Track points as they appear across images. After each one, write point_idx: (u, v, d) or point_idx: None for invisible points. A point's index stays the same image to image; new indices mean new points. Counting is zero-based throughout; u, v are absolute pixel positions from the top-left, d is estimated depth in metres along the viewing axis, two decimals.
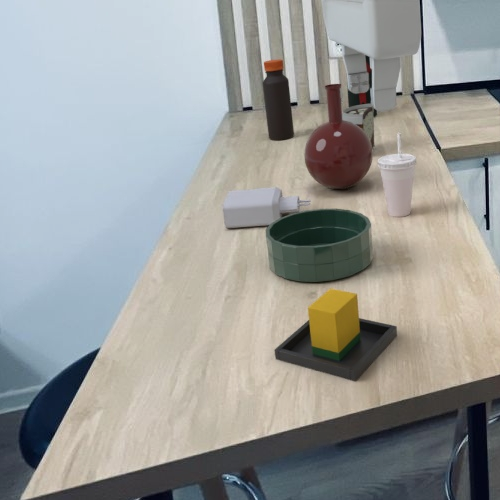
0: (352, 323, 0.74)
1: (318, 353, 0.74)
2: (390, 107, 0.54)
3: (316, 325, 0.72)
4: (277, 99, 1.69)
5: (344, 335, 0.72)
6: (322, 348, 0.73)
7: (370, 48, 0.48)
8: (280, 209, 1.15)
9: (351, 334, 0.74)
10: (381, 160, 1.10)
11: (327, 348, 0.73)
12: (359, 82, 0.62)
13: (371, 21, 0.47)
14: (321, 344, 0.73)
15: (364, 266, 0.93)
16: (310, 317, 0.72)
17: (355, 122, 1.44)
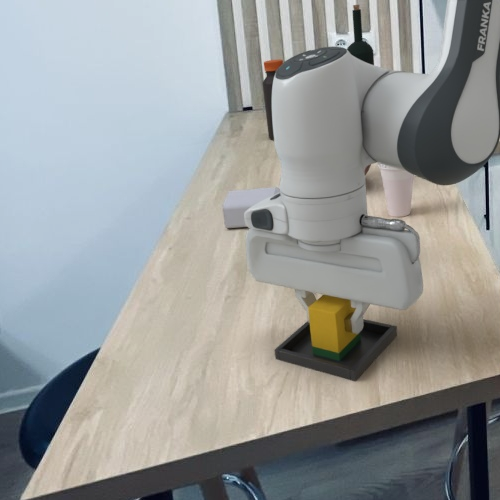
0: None
1: (318, 353, 0.74)
2: (361, 328, 0.72)
3: (316, 325, 0.72)
4: None
5: (344, 335, 0.72)
6: (322, 348, 0.73)
7: (399, 304, 0.66)
8: None
9: (351, 334, 0.74)
10: None
11: (327, 348, 0.73)
12: None
13: (404, 287, 0.65)
14: (321, 344, 0.73)
15: None
16: (310, 317, 0.72)
17: None
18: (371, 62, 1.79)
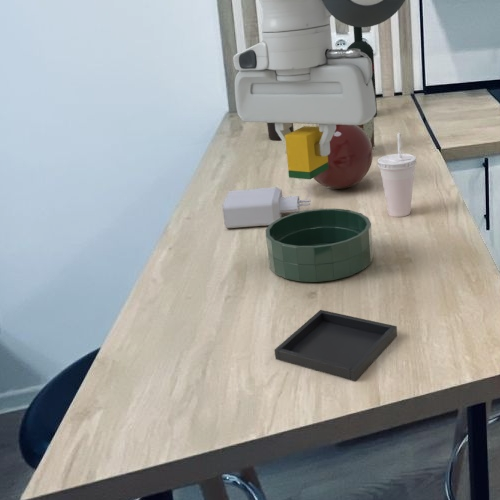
0: None
1: (293, 176, 0.90)
2: (328, 153, 0.89)
3: (291, 150, 0.89)
4: None
5: (314, 158, 0.89)
6: (296, 171, 0.90)
7: (356, 119, 0.82)
8: (280, 209, 1.15)
9: (320, 160, 0.90)
10: (381, 160, 1.10)
11: (300, 169, 0.89)
12: None
13: (360, 103, 0.81)
14: (296, 167, 0.90)
15: (364, 266, 0.93)
16: (287, 143, 0.89)
17: None
18: None
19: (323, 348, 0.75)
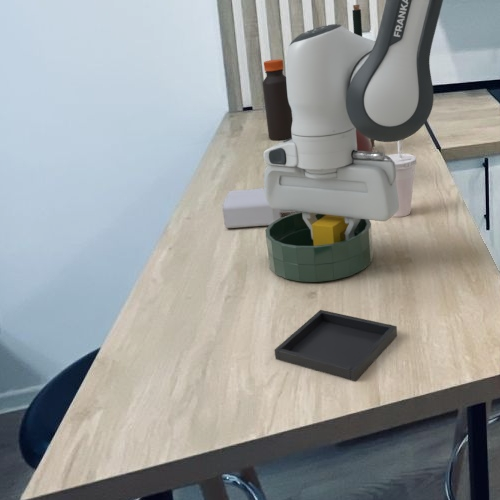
0: None
1: None
2: None
3: (318, 238, 0.95)
4: (277, 99, 1.69)
5: None
6: None
7: (381, 216, 0.88)
8: None
9: None
10: None
11: None
12: None
13: (384, 203, 0.87)
14: None
15: (364, 266, 0.93)
16: (313, 232, 0.95)
17: None
18: None
19: (323, 348, 0.75)
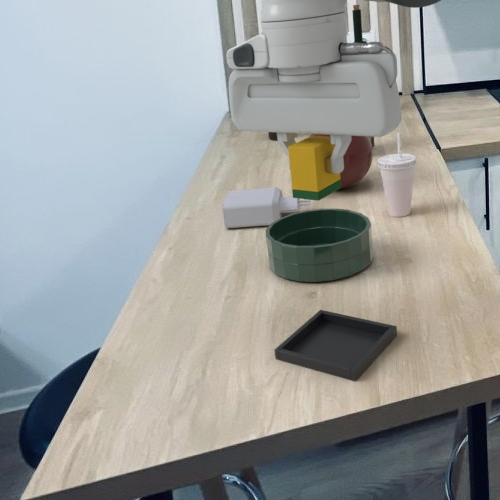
0: None
1: (298, 196, 0.74)
2: (341, 169, 0.73)
3: (296, 165, 0.73)
4: None
5: (323, 175, 0.73)
6: (302, 190, 0.74)
7: (377, 129, 0.66)
8: (280, 209, 1.15)
9: (331, 177, 0.74)
10: (381, 160, 1.10)
11: (307, 189, 0.73)
12: None
13: (381, 110, 0.65)
14: (301, 185, 0.74)
15: (364, 266, 0.93)
16: (290, 157, 0.73)
17: None
18: None
19: (323, 348, 0.75)
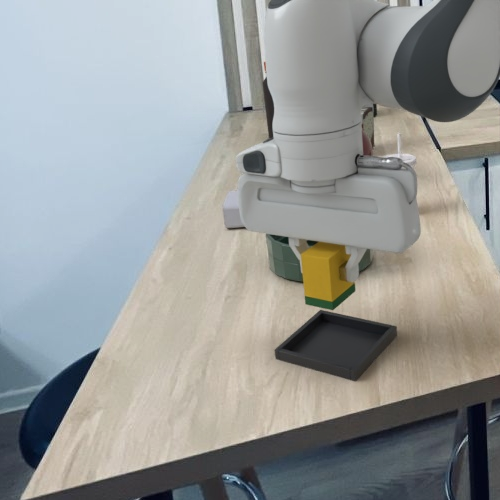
0: None
1: (311, 303, 0.71)
2: (356, 277, 0.70)
3: (309, 273, 0.70)
4: None
5: (338, 283, 0.70)
6: (315, 297, 0.71)
7: (396, 246, 0.63)
8: None
9: (345, 284, 0.71)
10: None
11: (320, 297, 0.70)
12: None
13: (401, 228, 0.62)
14: (314, 293, 0.70)
15: (364, 266, 0.93)
16: (303, 264, 0.70)
17: None
18: None
19: (323, 348, 0.75)
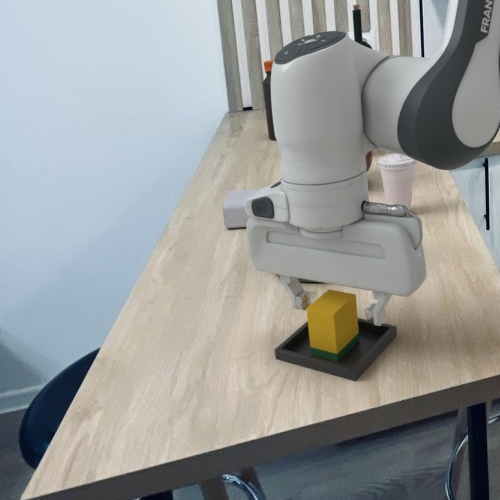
0: (351, 324, 0.74)
1: (316, 354, 0.74)
2: (383, 320, 0.71)
3: (315, 326, 0.72)
4: None
5: (342, 336, 0.72)
6: (320, 349, 0.73)
7: (403, 290, 0.65)
8: None
9: (350, 335, 0.74)
10: (381, 160, 1.10)
11: (325, 349, 0.73)
12: (305, 300, 0.76)
13: (407, 273, 0.64)
14: (320, 345, 0.73)
15: None
16: (309, 318, 0.72)
17: None
18: None
19: None
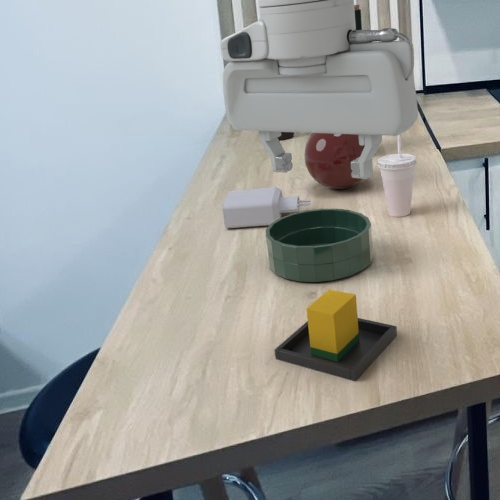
0: (351, 324, 0.74)
1: (316, 354, 0.74)
2: (370, 174, 0.64)
3: (315, 326, 0.72)
4: None
5: (342, 336, 0.72)
6: (320, 349, 0.73)
7: (391, 127, 0.59)
8: (280, 209, 1.15)
9: (350, 335, 0.74)
10: (381, 160, 1.10)
11: (325, 349, 0.73)
12: (286, 162, 0.69)
13: (396, 105, 0.58)
14: (320, 345, 0.73)
15: (364, 266, 0.93)
16: (309, 318, 0.72)
17: None
18: None
19: None
